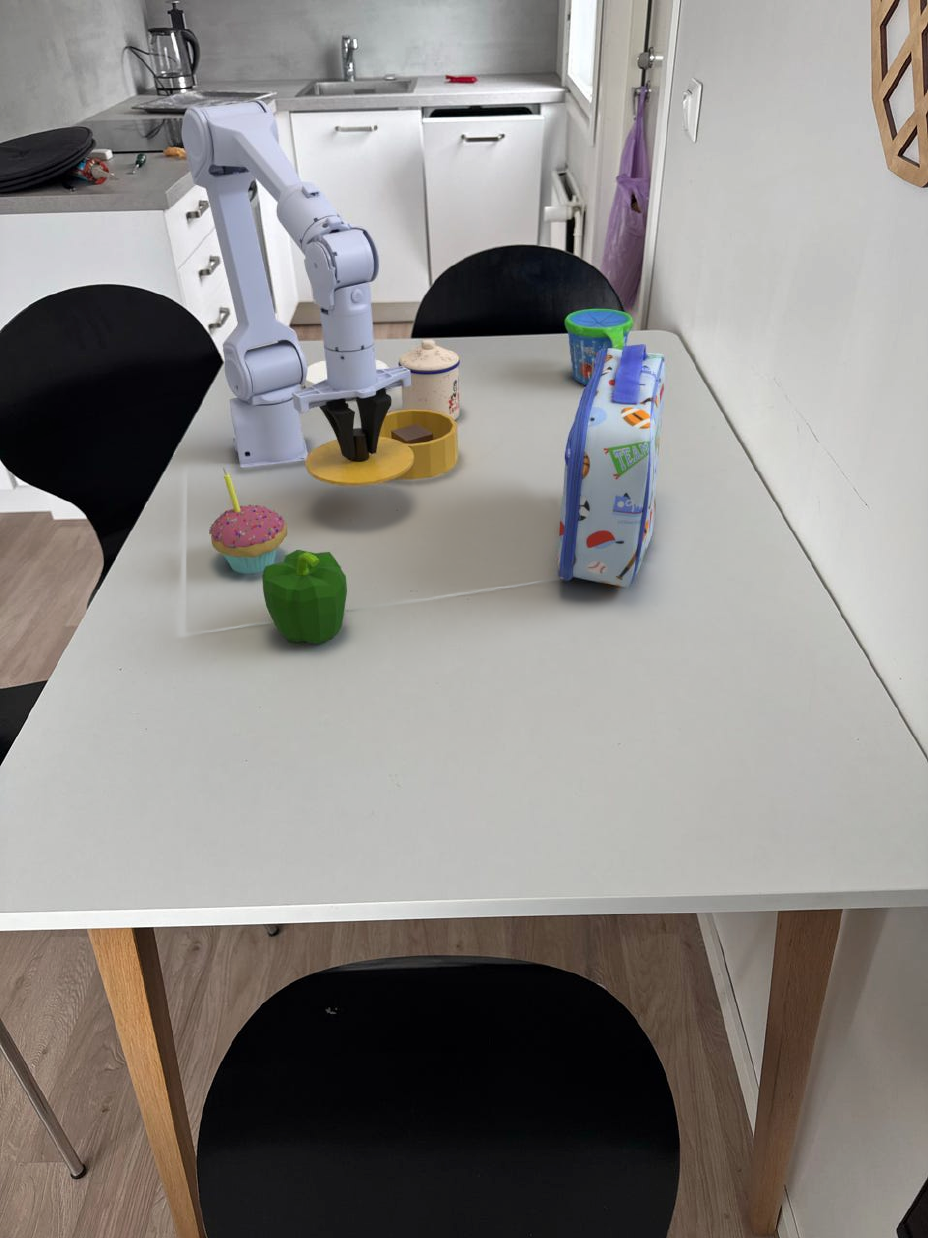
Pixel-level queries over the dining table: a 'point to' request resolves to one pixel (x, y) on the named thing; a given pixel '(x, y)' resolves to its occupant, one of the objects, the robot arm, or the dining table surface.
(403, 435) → the walnut block
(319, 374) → the plastic lid
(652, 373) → the lunch box
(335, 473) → the tin lid
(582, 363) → the snack cup
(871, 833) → the dining table surface
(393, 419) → the tin
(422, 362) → the teacup with lid
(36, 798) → the dining table surface
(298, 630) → the bell pepper
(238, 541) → the cupcake
